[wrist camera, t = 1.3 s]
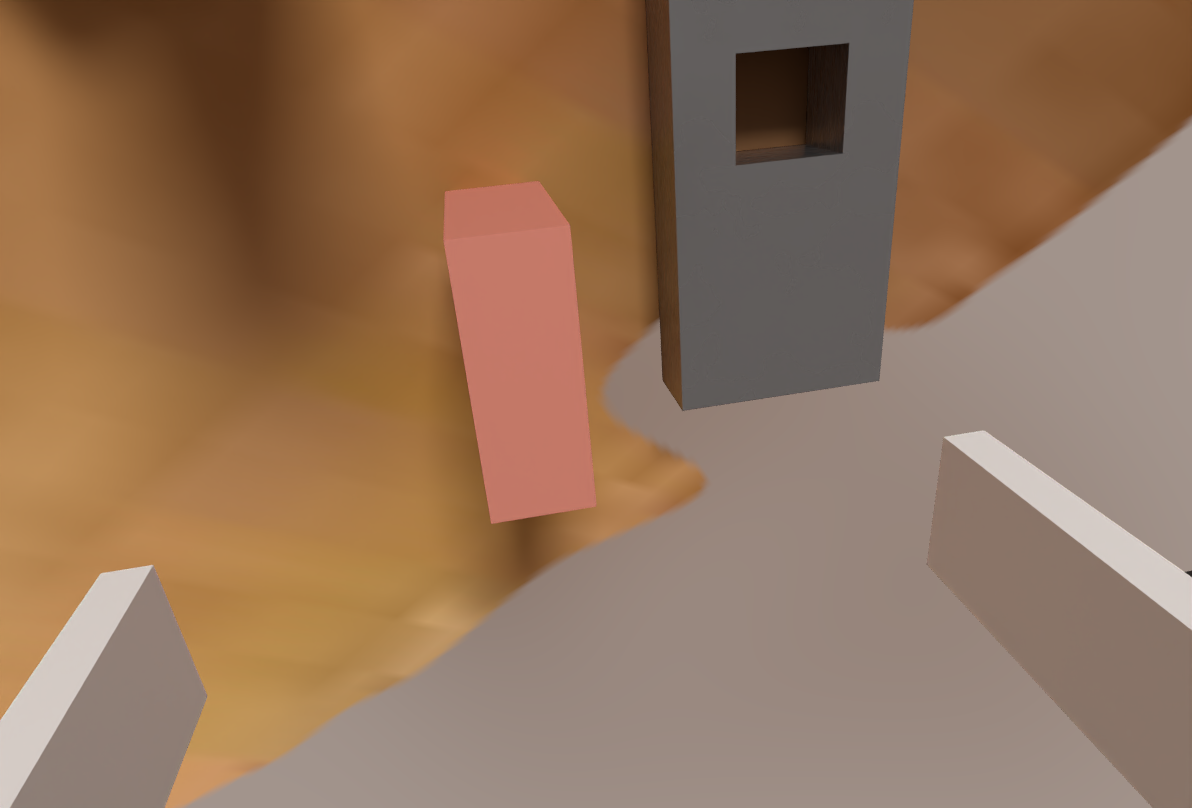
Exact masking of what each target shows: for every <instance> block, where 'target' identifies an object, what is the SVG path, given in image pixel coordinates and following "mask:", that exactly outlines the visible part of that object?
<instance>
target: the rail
mask: <svg viewBox="0 0 1192 808" xmlns="http://www.w3.org/2000/svg"><path fill="white" fill-rule="evenodd" d="M645 2H646V24H647V46H648V68H649V90H650V112H651V134H652V156H653V178H654V200H655V222H656V244H657V266H658V289H659V311H660V331H661V332H660V333H661V352H662V353H661V355H662V377H663V382H664V383H665V385H666V386H667V388H668V389H669V391H670V392H671V394H672V395H673V397H674V398H675V400H676V401H677V403H678V404H679V406H680V407H681V409H682V410H683V411H684V410H690V409H697V408H704V407H710V406H717V405H723V404H730V403H736V402H742V401H750V400H756V399H763V398H769V397H776V396H782V395H789V394H795V393H802V392H809V391H815V390H821V389H828V388H835V387H841V386H848V385H854V384H861V383H867V382H874V381H879V377H880V366H881V355H882V344H883V333H884V322H885V311H886V300H887V289H888V278H889V267H890V256H891V245H892V234H893V223H894V212H895V201H896V190H897V179H898V168H899V157H900V146H901V134H902V123H903V112H904V101H905V90H906V79H907V68H908V57H909V46H910V35H911V24H912V13H913V2H914V0H645ZM800 47H809V67H808V93H807V118H806V144H802V145H793V146H784V147H774V148H765V149H756V150H747V151H738V152H736V53H747V52H757V51H768V50H779V49H790V48H800Z"/></svg>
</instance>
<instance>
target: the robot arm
mask: <svg viewBox="0 0 1192 808" xmlns="http://www.w3.org/2000/svg"><path fill="white" fill-rule="evenodd" d="M927 565H928V566H929V567H930V568H931V570H932V571H933V572H934V573H935V574H936V575H937V576H938V577H939V578H940V579H941V580H942V582H943V583H944V584H945V585H946V586H947V587H948V588H949V589H950V590H951V591H952V592H953V593H954V594H955V595H956V596H957V597H958V599H959V600H960V601H961V602H962V603H963V604H964V605H965V606H966V607H967V608H968V609H969V611H970V612H972V614H973V615H974V616H975V617H976V618H977V619H978V620H979V621H980V622H981V623H982V625H984V627H985V628H986V629H987V630H988V631H989V632H990V633H991V634H992V635H993V636H994V637H995V638H996V639H997V641H998V642H999V643H1000V644H1001V645H1002V646H1003V647H1004V648H1005V649H1006V650H1007V651H1008V652H1009V653H1010V655H1011V656H1012V657H1013V658H1014V659H1015V660H1016V661H1017V662H1018V663H1019V664H1020V665H1021V666H1022V668H1023V669H1024V670H1025V671H1026V672H1027V673H1028V674H1029V675H1030V676H1031V677H1032V678H1033V679H1034V681H1035V682H1036V683H1037V684H1038V685H1039V686H1040V687H1041V688H1042V689H1043V690H1044V691H1045V692H1046V693H1047V694H1048V696H1049V697H1050V698H1051V699H1052V700H1053V701H1054V702H1055V703H1056V704H1057V705H1058V706H1059V707H1060V708H1061V710H1062V711H1063V712H1064V713H1065V714H1066V715H1067V716H1068V717H1069V718H1070V719H1071V720H1072V721H1073V722H1074V723H1075V725H1076V726H1077V727H1078V728H1079V729H1080V730H1081V731H1082V732H1083V733H1084V734H1085V735H1086V736H1087V738H1089V740H1090V741H1091V742H1092V743H1093V744H1094V745H1095V746H1096V747H1097V748H1098V749H1099V750H1100V752H1101V753H1102V754H1103V755H1104V756H1105V757H1106V758H1107V759H1108V760H1109V761H1110V762H1111V763H1112V764H1113V765H1114V767H1115V768H1116V769H1117V770H1118V771H1119V772H1120V773H1121V774H1122V775H1123V776H1124V777H1125V778H1126V780H1127V781H1128V782H1129V783H1130V784H1131V785H1132V786H1133V787H1134V788H1135V789H1136V790H1137V791H1138V792H1139V794H1140V795H1141V796H1142V797H1143V798H1144V799H1145V800H1146V801H1147V802H1148V803H1149V804H1150V805H1151V806H1152V808H1192V571H1188V572H1184V571H1182V570H1181V569H1179V568H1178V567H1177V566H1175V565H1174V564H1172V563H1171V562H1170V561H1168V560H1167V559H1165V558H1164V557H1162V556H1161V555H1160V554H1158V553H1157V552H1155V551H1154V550H1153V549H1151V548H1150V547H1148V546H1147V545H1145V544H1144V543H1143V542H1141V541H1140V540H1138V539H1137V538H1135V537H1134V536H1133V535H1131V534H1130V533H1128V532H1127V531H1125V530H1124V529H1123V528H1121V527H1120V526H1119V525H1117V524H1116V523H1114V522H1113V521H1111V520H1110V519H1109V518H1107V517H1106V516H1104V515H1103V514H1102V513H1100V512H1099V511H1097V510H1096V509H1094V508H1093V507H1092V506H1090V505H1089V504H1087V503H1086V502H1084V501H1083V500H1082V499H1080V498H1079V497H1078V496H1076V495H1075V494H1073V493H1072V492H1070V491H1069V490H1068V489H1066V488H1065V487H1063V486H1062V485H1061V484H1059V483H1058V482H1056V481H1055V480H1053V479H1052V478H1051V477H1049V476H1048V475H1046V474H1045V473H1043V472H1042V471H1041V470H1039V469H1038V468H1036V467H1035V466H1034V465H1032V464H1031V463H1029V462H1028V461H1027V460H1025V459H1024V458H1022V457H1021V456H1019V455H1018V454H1016V453H1015V452H1014V451H1012V450H1011V449H1010V448H1008V447H1007V446H1005V445H1004V444H1003V443H1001V442H1000V441H998V440H997V439H995V438H994V437H993V436H991V435H990V434H988V433H987V432H986V431H977V432H971V433H965V434H959V435H953V436H946V437H944V438H943V446H942V453H941V460H940V468H939V476H938V483H937V491H936V499H935V505H934V513H933V521H932V528H931V536H930V543H929V551H928V559H927ZM206 698H207V694H206V691H205V689H204V686H203V684H202V682H201V679H200V677H199V674H198V672H197V670H196V667H195V665H194V662H193V660H192V657H191V655H190V653H189V650H188V648H187V645H186V643H185V640H184V638H183V636H182V633H181V631H180V628H179V626H178V624H177V621H176V619H175V616H174V614H173V611H172V609H171V607H170V604H169V602H168V599H167V597H166V595H165V592H164V590H163V587H162V585H161V582H160V580H159V578H158V575H157V573H156V570H155V568H154V565H150V566H144V567H138V568H132V569H125V570H119V571H113V572H107V573H101V574H100V575H99V577H98V578H97V580H96V581H95V583H94V584H93V585H92V587H91V588H90V590H89V591H88V593H87V594H86V596H85V597H84V599H83V600H82V602H81V603H80V604H79V606H78V607H77V609H76V610H75V612H74V613H73V615H72V616H71V618H70V619H69V621H68V622H67V624H66V625H65V626H64V628H63V629H62V631H61V632H60V634H59V635H58V637H57V638H56V640H55V641H54V643H53V644H52V645H51V647H50V648H49V650H48V651H47V653H46V654H45V656H44V657H43V659H42V660H41V662H40V663H39V665H38V666H37V667H36V669H35V670H34V672H33V673H32V675H31V676H30V678H29V679H28V681H27V682H26V684H25V685H24V686H23V688H22V689H21V691H20V692H19V694H18V695H17V697H16V698H15V700H14V701H13V703H12V704H11V706H10V707H9V708H8V710H7V711H6V713H5V714H4V716H3V717H2V719H1V720H0V808H165V805H166V802H167V800H168V797H169V795H170V792H171V789H172V787H173V784H174V782H175V779H176V776H177V774H178V771H179V769H180V766H181V763H182V761H183V758H184V756H185V753H186V750H187V748H188V745H189V743H190V740H191V737H192V735H193V732H194V730H195V727H196V724H197V722H198V719H199V717H200V714H201V711H202V709H203V706H204V704H205V701H206Z"/></svg>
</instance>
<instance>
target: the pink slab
mask: <svg viewBox="0 0 1192 808" xmlns="http://www.w3.org/2000/svg"><path fill="white" fill-rule="evenodd" d="M444 246H445V252H446V258H447V263H448V269H449V275H450V281H451V287H452V293H453V299H454V305H455V311H456V317H457V323H458V329H459V335H460V341H461V347H462V353H463V359H464V365H465V371H466V376H467V382H468V388H469V394H470V400H471V406H472V412H473V418H474V424H475V430H476V436H477V442H478V448H479V454H480V460H481V466H482V472H483V478H484V484H485V489H486V495H487V501H488V507H489V513H490V519H491V524H493V523H499V522H505V521H511V520H517V519H523V518H529V517H535V516H542V515H548V514H554V513H560V512H566V511H572V510H578V509H584V508H590V507H596V496H595V485H594V474H593V464H592V453H591V443H590V432H589V421H588V411H587V400H586V390H585V379H584V368H583V358H582V347H581V337H580V326H579V315H578V305H577V294H576V284H575V273H574V262H573V252H572V241H571V231H570V224H569V223H568V222H567V220H566V219H565V217H564V216H563V215H562V213H561V212H560V210H559V209H558V207H557V206H556V205H555V203H554V202H553V200H552V199H551V198H550V196H549V195H548V193H547V192H546V190H545V189H544V188H543V186H542V185H541V183H540V182H539V181H535V182H526V183H517V184H508V185H499V186H490V187H481V188H472V189H463V190H454V191H445V210H444Z"/></svg>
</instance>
